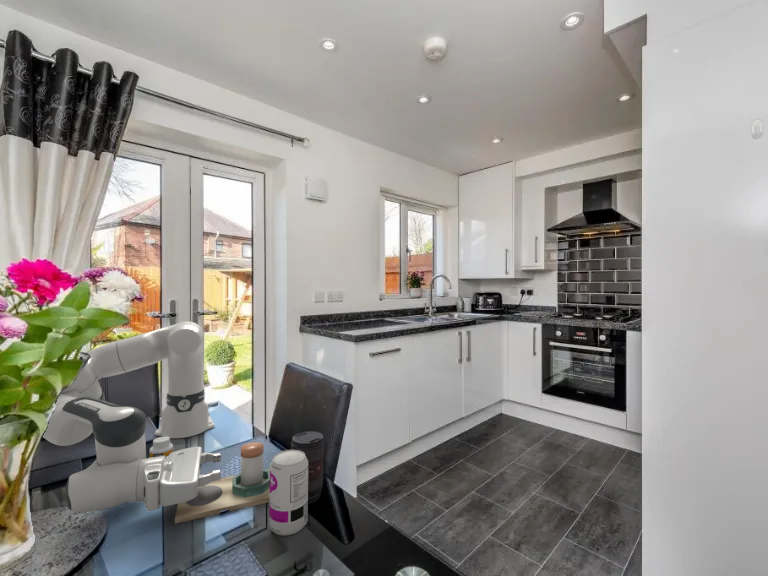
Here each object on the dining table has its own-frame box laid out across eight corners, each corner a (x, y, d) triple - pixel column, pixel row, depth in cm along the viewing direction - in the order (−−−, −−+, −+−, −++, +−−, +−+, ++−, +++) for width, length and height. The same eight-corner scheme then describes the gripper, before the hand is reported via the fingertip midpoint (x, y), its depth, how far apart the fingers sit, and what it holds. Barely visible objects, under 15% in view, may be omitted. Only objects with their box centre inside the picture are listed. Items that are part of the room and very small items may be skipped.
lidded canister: (240, 482, 93) (240, 444, 93) (262, 478, 95) (262, 440, 95) (241, 493, 88) (241, 453, 88) (264, 488, 90) (264, 449, 90)
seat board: (181, 490, 91) (182, 477, 91) (271, 472, 100) (271, 461, 100) (174, 523, 78) (174, 509, 78) (277, 500, 87) (278, 487, 87)
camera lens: (330, 493, 90) (330, 435, 90) (306, 510, 84) (307, 446, 84) (307, 483, 95) (308, 427, 95) (283, 498, 88) (284, 438, 88)
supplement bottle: (149, 483, 94) (149, 445, 94) (149, 474, 99) (149, 437, 99) (173, 477, 97) (173, 440, 97) (172, 468, 102) (172, 433, 102)
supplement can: (268, 540, 73) (269, 468, 73) (269, 516, 81) (270, 450, 81) (308, 533, 76) (309, 463, 76) (306, 510, 84) (306, 446, 84)
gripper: (162, 469, 92) (221, 459, 98) (147, 516, 73) (220, 500, 79) (162, 445, 92) (221, 436, 98) (147, 486, 73) (220, 471, 79)
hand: (221, 465), depth 88 cm, fingers open, 8 cm apart
